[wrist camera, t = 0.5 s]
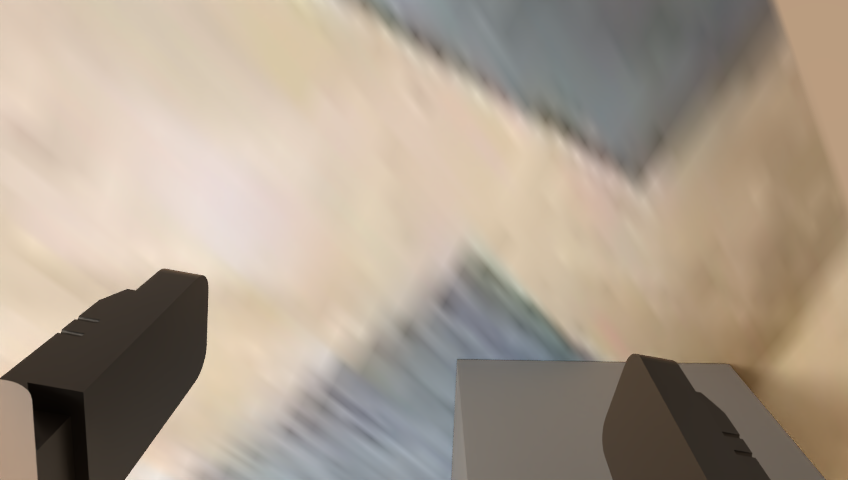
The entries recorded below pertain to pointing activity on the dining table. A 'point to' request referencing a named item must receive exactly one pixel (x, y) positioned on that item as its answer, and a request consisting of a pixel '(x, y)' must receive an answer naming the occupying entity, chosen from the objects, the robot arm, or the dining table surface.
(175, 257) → the dining table surface
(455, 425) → the carton
